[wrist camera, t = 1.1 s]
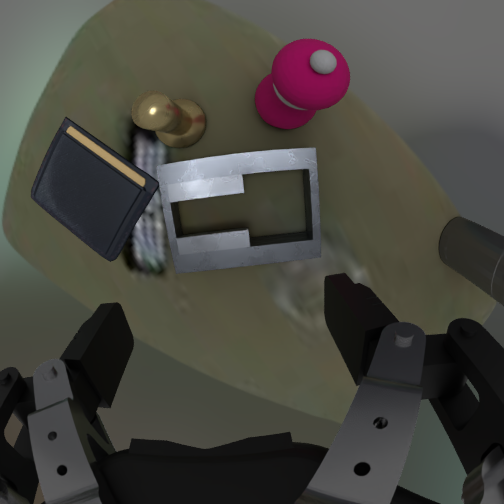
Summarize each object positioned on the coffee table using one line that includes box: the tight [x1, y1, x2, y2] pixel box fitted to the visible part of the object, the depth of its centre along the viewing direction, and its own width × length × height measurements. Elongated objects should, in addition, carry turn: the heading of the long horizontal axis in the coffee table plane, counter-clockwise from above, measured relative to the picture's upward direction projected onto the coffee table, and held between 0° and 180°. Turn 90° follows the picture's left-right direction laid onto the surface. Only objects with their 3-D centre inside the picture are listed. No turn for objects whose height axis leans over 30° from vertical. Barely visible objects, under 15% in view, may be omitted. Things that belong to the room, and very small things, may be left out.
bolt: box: [131, 91, 206, 148], centre depth 26 cm, size 6×6×14 cm
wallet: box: [31, 117, 159, 262], centre depth 34 cm, size 20×2×15 cm
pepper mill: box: [255, 39, 350, 129], centre depth 23 cm, size 7×7×20 cm
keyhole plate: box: [157, 148, 321, 274], centre depth 35 cm, size 19×14×4 cm
